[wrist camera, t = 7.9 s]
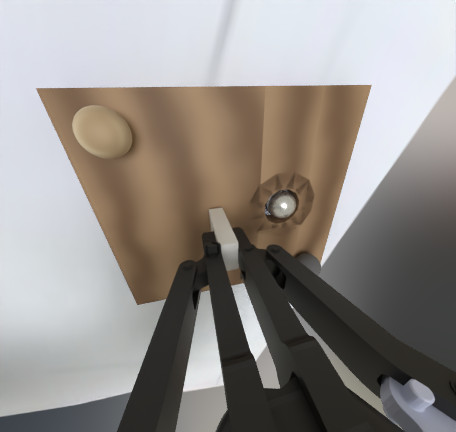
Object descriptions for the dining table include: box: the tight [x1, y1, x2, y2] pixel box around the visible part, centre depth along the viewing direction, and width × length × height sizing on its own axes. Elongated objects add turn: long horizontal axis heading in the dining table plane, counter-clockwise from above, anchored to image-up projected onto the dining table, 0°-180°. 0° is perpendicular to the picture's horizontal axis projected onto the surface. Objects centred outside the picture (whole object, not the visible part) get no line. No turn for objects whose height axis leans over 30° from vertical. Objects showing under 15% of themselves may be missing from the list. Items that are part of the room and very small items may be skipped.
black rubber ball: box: [296, 253, 321, 276], centre depth 24 cm, size 4×4×4 cm
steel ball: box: [267, 191, 296, 218], centre depth 21 cm, size 4×4×4 cm
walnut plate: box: [36, 85, 371, 305], centre depth 21 cm, size 28×24×2 cm
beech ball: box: [72, 105, 132, 159], centre depth 12 cm, size 4×4×4 cm
